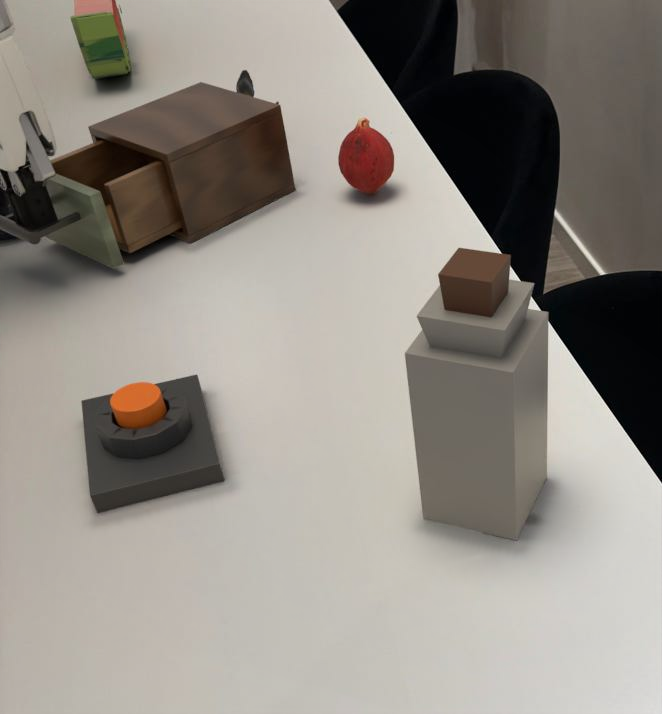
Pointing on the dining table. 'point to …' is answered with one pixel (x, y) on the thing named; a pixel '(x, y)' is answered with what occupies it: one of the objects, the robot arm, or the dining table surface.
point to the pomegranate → (366, 158)
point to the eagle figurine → (246, 84)
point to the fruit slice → (101, 37)
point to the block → (150, 449)
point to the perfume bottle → (480, 397)
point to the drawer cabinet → (209, 152)
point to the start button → (138, 405)
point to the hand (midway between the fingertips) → (40, 228)
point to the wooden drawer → (105, 203)
